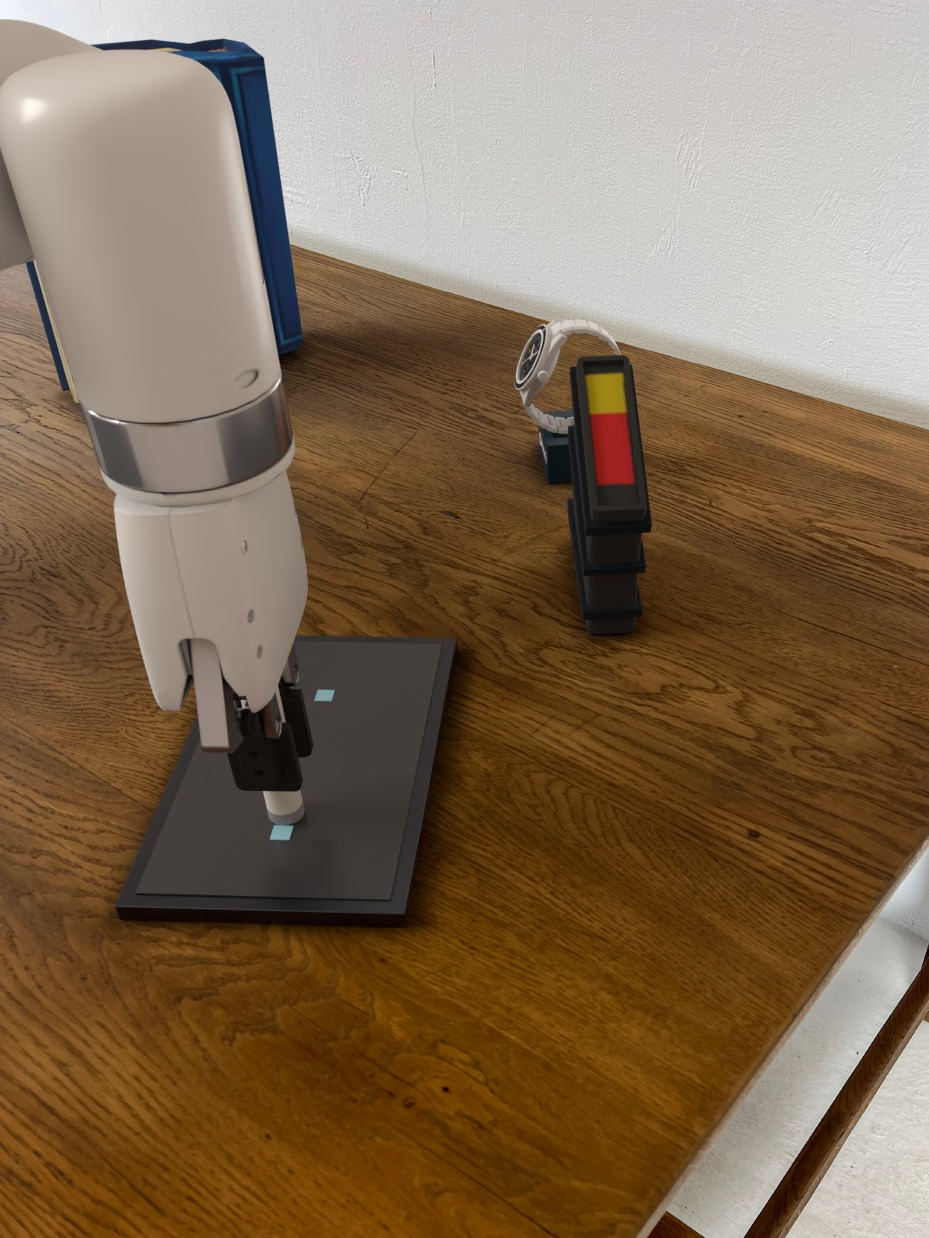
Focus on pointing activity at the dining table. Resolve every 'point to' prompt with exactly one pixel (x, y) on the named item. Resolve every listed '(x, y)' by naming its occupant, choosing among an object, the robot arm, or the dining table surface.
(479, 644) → the dining table surface
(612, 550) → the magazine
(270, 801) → the stylus
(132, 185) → the robot arm
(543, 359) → the watch
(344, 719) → the tablet
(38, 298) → the book
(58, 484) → the dining table surface
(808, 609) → the dining table surface
